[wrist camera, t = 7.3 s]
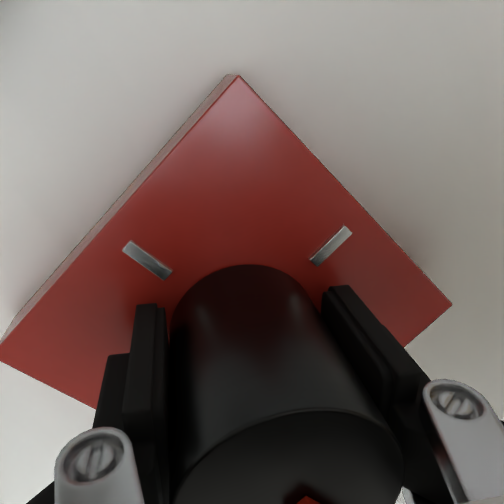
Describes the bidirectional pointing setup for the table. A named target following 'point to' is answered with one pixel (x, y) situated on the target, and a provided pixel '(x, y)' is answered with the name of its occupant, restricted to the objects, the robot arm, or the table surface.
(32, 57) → the table surface
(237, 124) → the dial panel
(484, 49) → the table surface
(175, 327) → the dial
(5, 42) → the table surface
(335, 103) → the table surface
